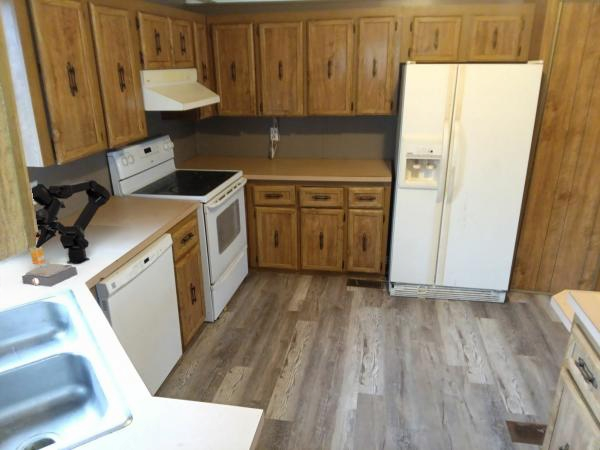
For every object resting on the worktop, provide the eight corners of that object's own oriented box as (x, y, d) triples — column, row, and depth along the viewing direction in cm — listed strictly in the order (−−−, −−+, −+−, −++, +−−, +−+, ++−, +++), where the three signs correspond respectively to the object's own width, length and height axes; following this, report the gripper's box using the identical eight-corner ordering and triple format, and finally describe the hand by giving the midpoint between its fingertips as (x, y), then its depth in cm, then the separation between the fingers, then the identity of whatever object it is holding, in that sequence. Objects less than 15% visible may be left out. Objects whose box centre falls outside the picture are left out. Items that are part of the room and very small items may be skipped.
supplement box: (31, 264, 170) (26, 239, 168) (38, 261, 173) (33, 236, 171) (38, 264, 169) (34, 239, 167) (45, 261, 172) (41, 236, 170)
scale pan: (49, 265, 179) (49, 263, 178) (71, 267, 176) (71, 265, 175) (26, 274, 168) (25, 272, 168) (49, 277, 165) (49, 275, 165)
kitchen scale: (50, 271, 181) (49, 264, 180) (77, 274, 177) (76, 267, 176) (21, 284, 168) (20, 276, 167) (49, 287, 164) (48, 279, 163)
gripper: (15, 200, 171) (-4, 236, 163) (56, 201, 167) (39, 238, 159) (34, 215, 180) (17, 250, 173) (74, 216, 176) (59, 252, 169)
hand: (32, 247), depth 168 cm, fingers closed on supplement box, 3 cm apart
